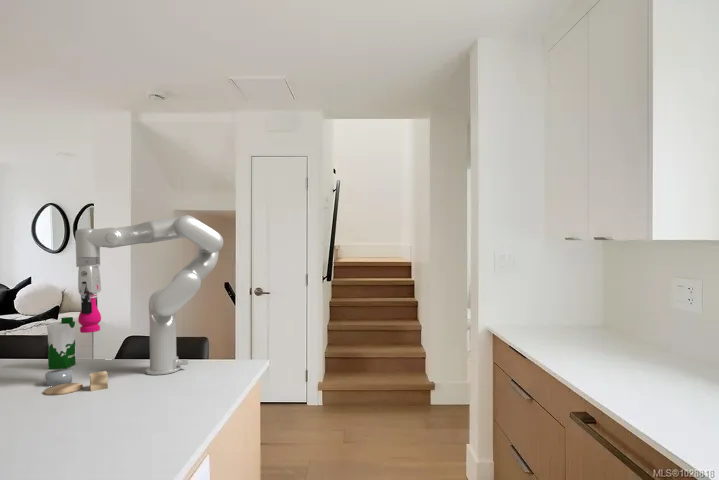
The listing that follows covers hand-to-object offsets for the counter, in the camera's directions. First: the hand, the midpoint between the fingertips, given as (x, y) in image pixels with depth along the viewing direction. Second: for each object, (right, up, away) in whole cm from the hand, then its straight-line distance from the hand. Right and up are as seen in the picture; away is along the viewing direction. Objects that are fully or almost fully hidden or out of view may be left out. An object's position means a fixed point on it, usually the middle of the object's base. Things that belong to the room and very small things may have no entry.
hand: (89, 311), depth 167 cm
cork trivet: (-3, -25, -10) cm, 27 cm away
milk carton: (-24, -26, +21) cm, 41 cm away
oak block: (+8, -25, -9) cm, 28 cm away
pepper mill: (0, -7, 0) cm, 7 cm away
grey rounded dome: (-10, -25, -2) cm, 27 cm away
